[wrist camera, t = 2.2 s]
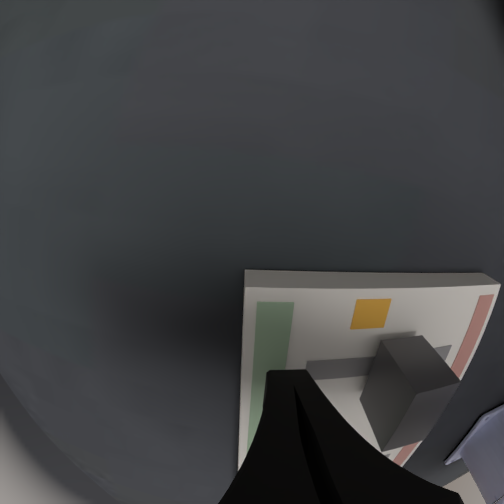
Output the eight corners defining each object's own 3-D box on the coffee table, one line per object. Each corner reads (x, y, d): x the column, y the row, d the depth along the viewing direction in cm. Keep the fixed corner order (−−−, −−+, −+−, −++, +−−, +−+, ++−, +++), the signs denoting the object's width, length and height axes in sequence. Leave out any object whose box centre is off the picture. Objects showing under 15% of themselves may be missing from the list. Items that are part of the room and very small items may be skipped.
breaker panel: (482, 272, 11) (501, 284, 9) (357, 499, 19) (360, 510, 17) (245, 269, 10) (244, 287, 9) (236, 511, 18) (236, 524, 17)
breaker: (422, 335, 9) (461, 381, 7) (398, 392, 10) (424, 440, 8) (380, 339, 9) (416, 393, 7) (359, 399, 10) (381, 452, 8)
